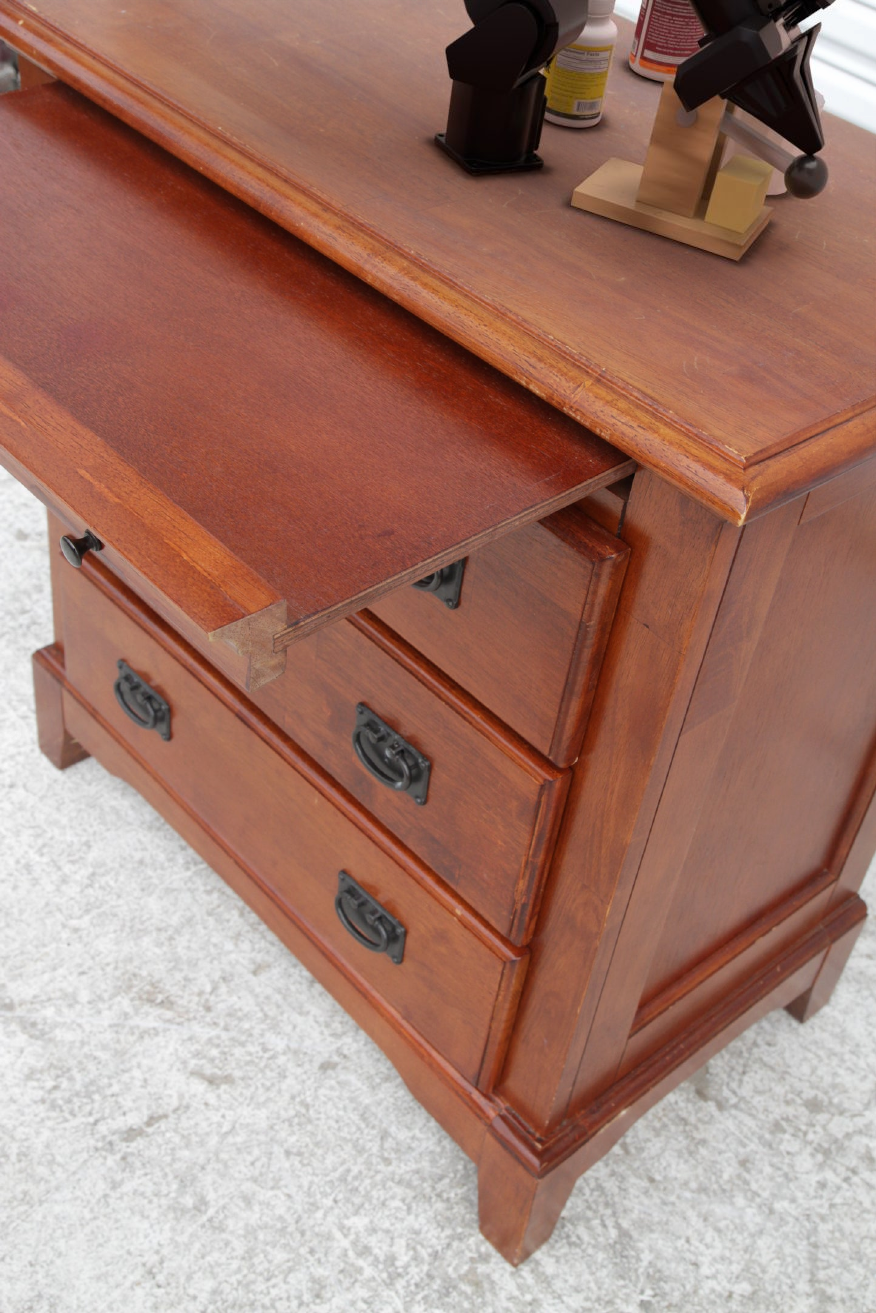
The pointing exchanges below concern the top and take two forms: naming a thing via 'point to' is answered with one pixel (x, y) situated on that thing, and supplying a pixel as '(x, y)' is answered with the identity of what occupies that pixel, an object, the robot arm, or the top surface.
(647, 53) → the pill bottle
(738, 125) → the lever
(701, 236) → the butter cutter
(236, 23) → the top surface
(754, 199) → the butter
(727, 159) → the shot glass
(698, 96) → the robot arm
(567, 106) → the supplement bottle
